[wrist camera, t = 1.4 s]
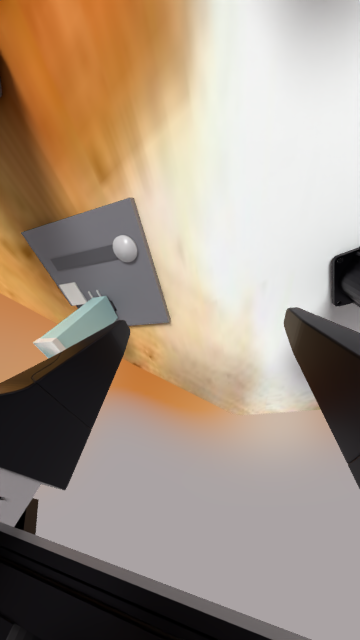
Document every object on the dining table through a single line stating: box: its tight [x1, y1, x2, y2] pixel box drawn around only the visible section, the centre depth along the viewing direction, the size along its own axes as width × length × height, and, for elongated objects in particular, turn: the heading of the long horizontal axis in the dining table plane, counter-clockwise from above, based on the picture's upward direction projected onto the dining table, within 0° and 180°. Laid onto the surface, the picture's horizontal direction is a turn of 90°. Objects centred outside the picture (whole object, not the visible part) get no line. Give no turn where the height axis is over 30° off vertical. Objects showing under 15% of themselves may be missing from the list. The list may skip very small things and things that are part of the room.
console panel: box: [21, 198, 170, 326], centre depth 23 cm, size 16×16×1 cm
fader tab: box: [33, 296, 118, 359], centre depth 21 cm, size 3×4×11 cm, turn 13°
